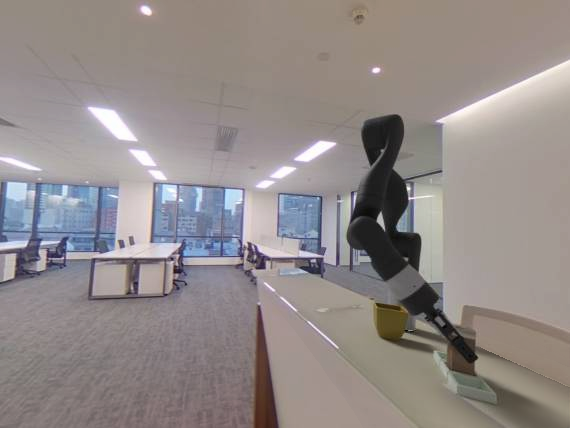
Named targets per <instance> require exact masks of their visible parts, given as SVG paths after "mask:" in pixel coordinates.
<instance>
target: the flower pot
mask: <svg viewBox="0 0 570 428" xmlns="http://www.w3.org/2000/svg"><path fill="white" fill-rule="evenodd" d="M372 304H373V305H372V308H373V309H372V312H373V324H374V326H375V331H376V332H377V335H378V337H379V338H383V339H387V340H388V339H389V340H394V341H400V340H401V338H403V335H404V333H405V332H406V331H405V329H406V324H407V319H408V314H409V312H408V311H407V310H406V309H404V308H403V307H402V306H397V305H391V304H388V303H383V302H377V301H373V302H372Z"/></svg>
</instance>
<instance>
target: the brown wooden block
mask: <svg viewBox="0 0 570 428" xmlns="http://www.w3.org/2000/svg"><path fill="white" fill-rule="evenodd" d="M452 324H453V325H454V326H455V327H456V329H457V330H456V331H457V332H458V333H459V334H460V335H461V336H463V337H464V340H465V342H466V344H467V345H468V346H469V347H470V348H471V349H472V350H473V352H474V353H475V354H476V340H477V338H476V337H477V331H476V330H474V328H472V327H471V326H467V325H462V324H456V323H452ZM448 337H449V338H450V339H451V340H453V339H454V338H455V337H457V335H456V334H455V333H452V334H450V335H449V336H448ZM446 342H447V343H446V344H447V345H446V347H447V348H446V353H447V363H446V366H447V367H448V369H449V370H450V371H454V372H459V373H463V374H467V375H472V376H474V372H475V371H476V370H475V367H476V366H475V365H476V361H474V362H473V363H471V364H470V363H468V362H467V361H466V360H465V359H464V357H463V356H462V355H461V354H460V353H459V352H458V350H457V349H456V348H454V347H453V346H452V345H451V343H450V342H449V341H448V340H447V341H446Z"/></svg>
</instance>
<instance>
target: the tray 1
mask: <svg viewBox="0 0 570 428" xmlns="http://www.w3.org/2000/svg"><path fill="white" fill-rule="evenodd" d="M433 359H434V360H435V362H436V363H437V365H438V366H439V367H440V360H443V361H447V352H443V351H440V350H439V351H438V350H433Z"/></svg>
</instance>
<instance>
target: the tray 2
mask: <svg viewBox="0 0 570 428" xmlns="http://www.w3.org/2000/svg"><path fill="white" fill-rule="evenodd" d="M446 363H447V361H443V360H440V366H439V369H440V370H441V371H442V372H443V374H444V376H445V378H446V379H447V380H448V372H451V373H456V374H460V375H464V376H469V377H473V378H477V379H482V380H483V378H482V377H481V376H480V375H479V373H478V372H477V371H476V370H475V372H474V376H472V375H467V374H463V373H459V372H454V371H450V370H449V369H448V367H447V366H446Z"/></svg>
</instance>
